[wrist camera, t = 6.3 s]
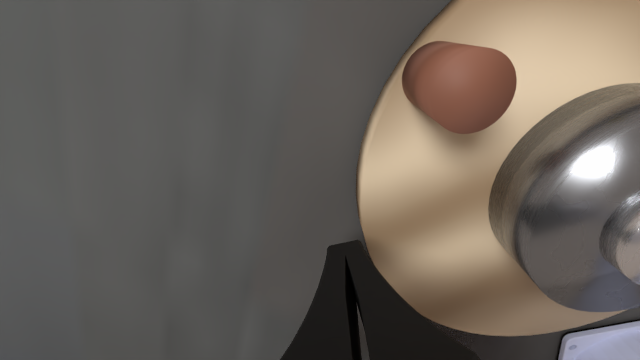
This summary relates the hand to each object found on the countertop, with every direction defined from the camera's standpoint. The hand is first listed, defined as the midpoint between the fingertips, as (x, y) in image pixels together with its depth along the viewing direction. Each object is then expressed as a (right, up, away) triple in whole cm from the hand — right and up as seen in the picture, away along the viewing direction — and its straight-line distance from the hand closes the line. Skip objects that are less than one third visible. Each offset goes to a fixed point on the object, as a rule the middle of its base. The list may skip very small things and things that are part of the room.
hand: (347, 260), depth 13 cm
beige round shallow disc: (+10, +4, +2) cm, 11 cm away
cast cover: (+11, +3, +1) cm, 11 cm away
